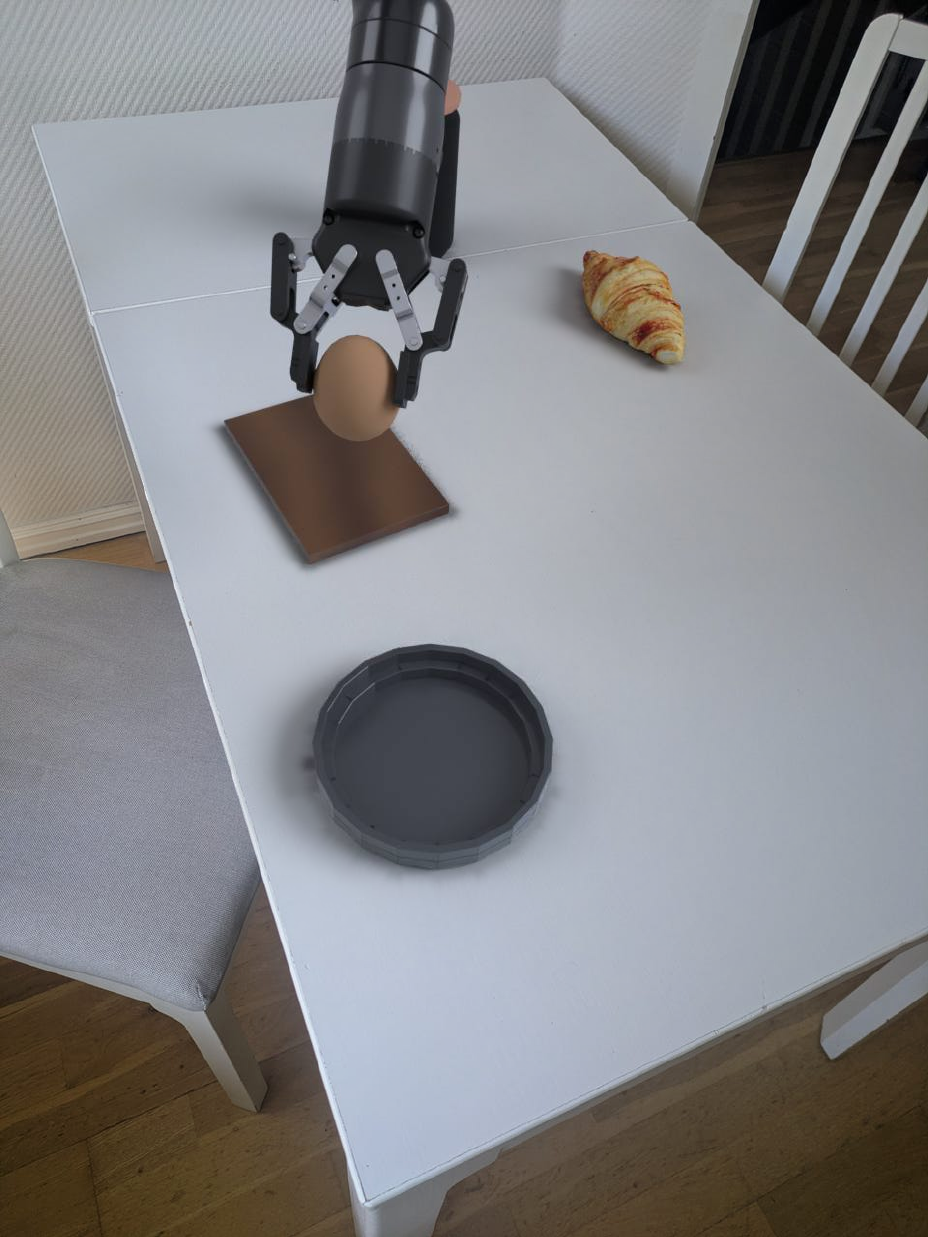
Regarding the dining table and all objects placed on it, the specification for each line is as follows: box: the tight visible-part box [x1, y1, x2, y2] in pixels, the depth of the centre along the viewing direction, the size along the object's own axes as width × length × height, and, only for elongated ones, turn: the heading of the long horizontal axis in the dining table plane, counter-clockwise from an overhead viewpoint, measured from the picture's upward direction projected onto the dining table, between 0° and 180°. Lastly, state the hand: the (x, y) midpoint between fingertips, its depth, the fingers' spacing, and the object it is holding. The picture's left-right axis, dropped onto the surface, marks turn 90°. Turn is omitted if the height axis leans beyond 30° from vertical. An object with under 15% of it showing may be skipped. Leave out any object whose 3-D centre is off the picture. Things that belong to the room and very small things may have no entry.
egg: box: [312, 334, 401, 442], centre depth 66 cm, size 6×6×8 cm
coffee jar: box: [429, 79, 463, 259], centre depth 106 cm, size 11×11×18 cm
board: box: [223, 393, 450, 565], centre depth 86 cm, size 14×20×1 cm
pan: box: [311, 643, 554, 870], centre depth 66 cm, size 17×17×3 cm
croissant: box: [581, 249, 687, 366], centre depth 103 cm, size 21×10×8 cm, turn 24°
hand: (352, 398), depth 65 cm, fingers closed on egg, 6 cm apart
